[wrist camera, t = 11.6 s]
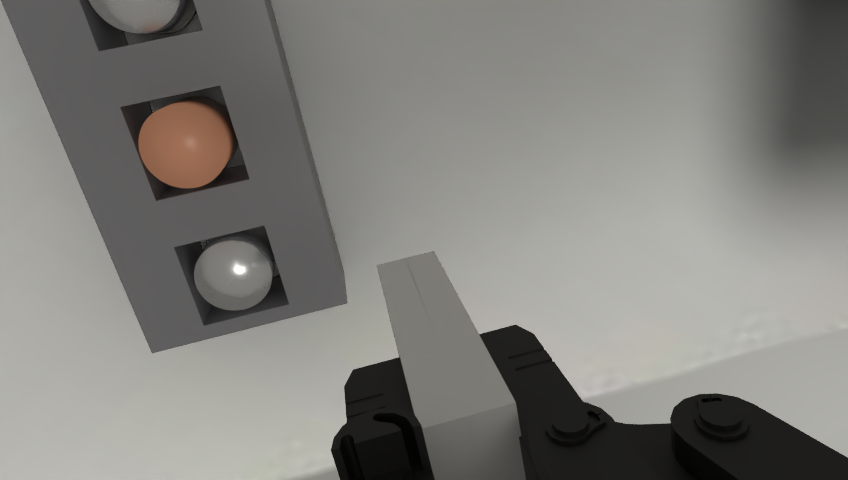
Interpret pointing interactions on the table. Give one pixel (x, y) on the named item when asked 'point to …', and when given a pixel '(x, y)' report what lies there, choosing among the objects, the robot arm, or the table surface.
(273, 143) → the button console
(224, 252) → the steel button far
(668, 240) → the table surface
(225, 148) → the terracotta button
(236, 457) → the table surface
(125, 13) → the steel button near
